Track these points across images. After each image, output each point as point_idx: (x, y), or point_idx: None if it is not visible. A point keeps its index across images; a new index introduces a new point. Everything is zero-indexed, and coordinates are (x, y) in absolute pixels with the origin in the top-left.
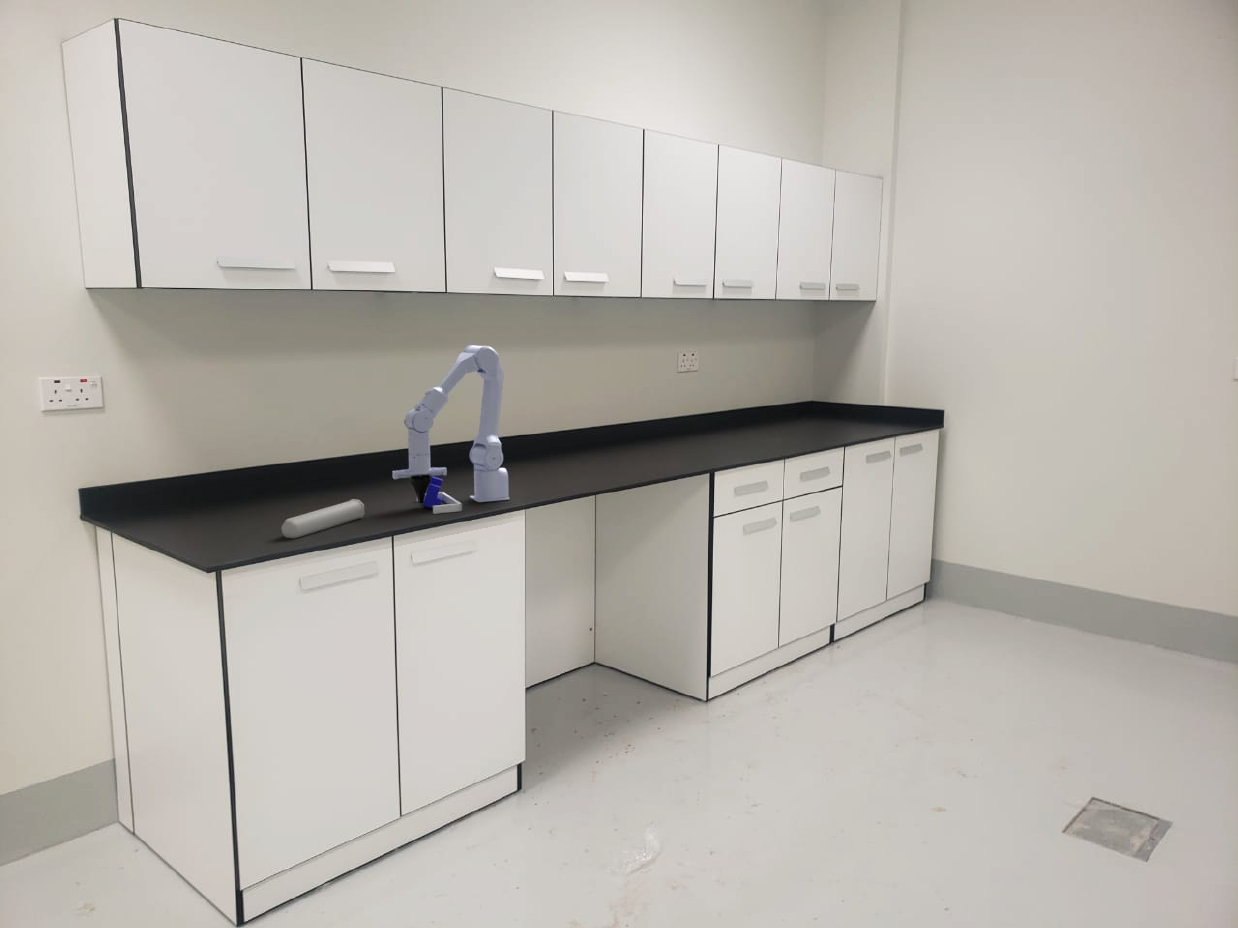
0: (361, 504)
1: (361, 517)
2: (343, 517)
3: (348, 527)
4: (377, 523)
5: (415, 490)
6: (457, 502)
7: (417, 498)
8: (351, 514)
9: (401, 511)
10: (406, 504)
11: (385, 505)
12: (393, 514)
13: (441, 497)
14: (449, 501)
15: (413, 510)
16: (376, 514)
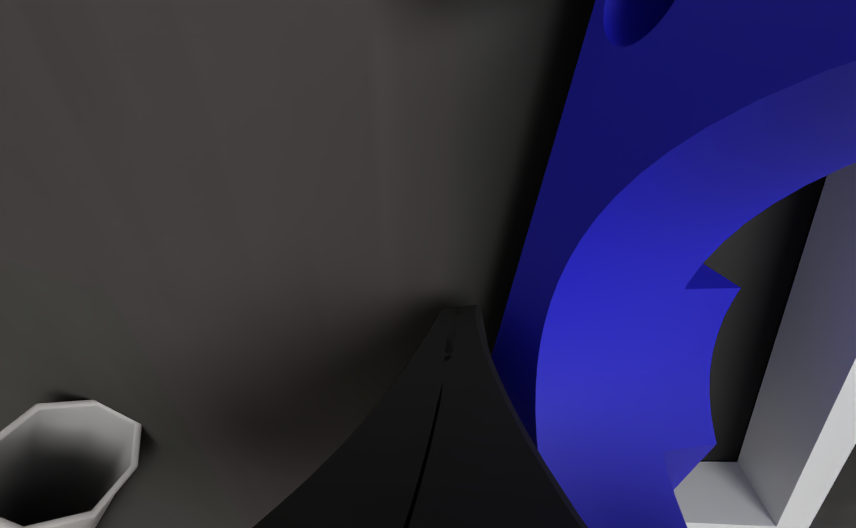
0: (76, 522)
1: (140, 433)
2: (97, 520)
3: (166, 515)
4: (256, 511)
5: (387, 411)
6: (795, 503)
7: (430, 333)
8: (104, 508)
9: (321, 363)
10: (322, 105)
11: (113, 104)
12: (286, 412)
13: (699, 451)
14: (831, 286)
15: (405, 362)
16: (184, 384)
